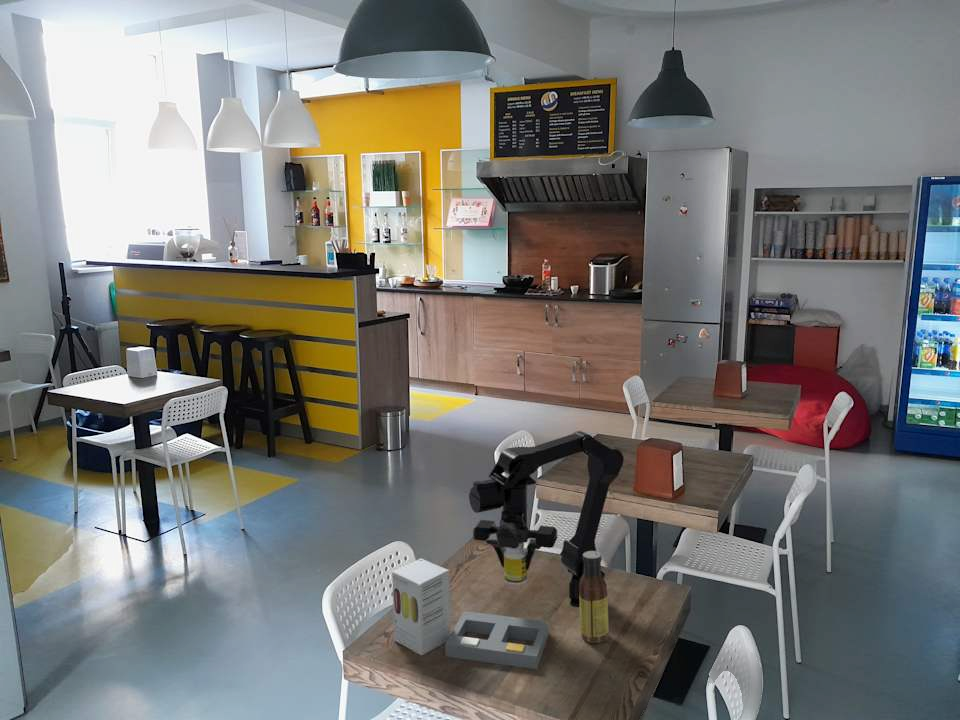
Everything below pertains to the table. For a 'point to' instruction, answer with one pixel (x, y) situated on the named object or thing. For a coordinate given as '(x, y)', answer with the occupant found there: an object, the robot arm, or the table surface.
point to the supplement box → (421, 606)
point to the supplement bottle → (515, 565)
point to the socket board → (498, 640)
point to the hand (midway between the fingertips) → (515, 567)
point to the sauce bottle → (593, 600)
